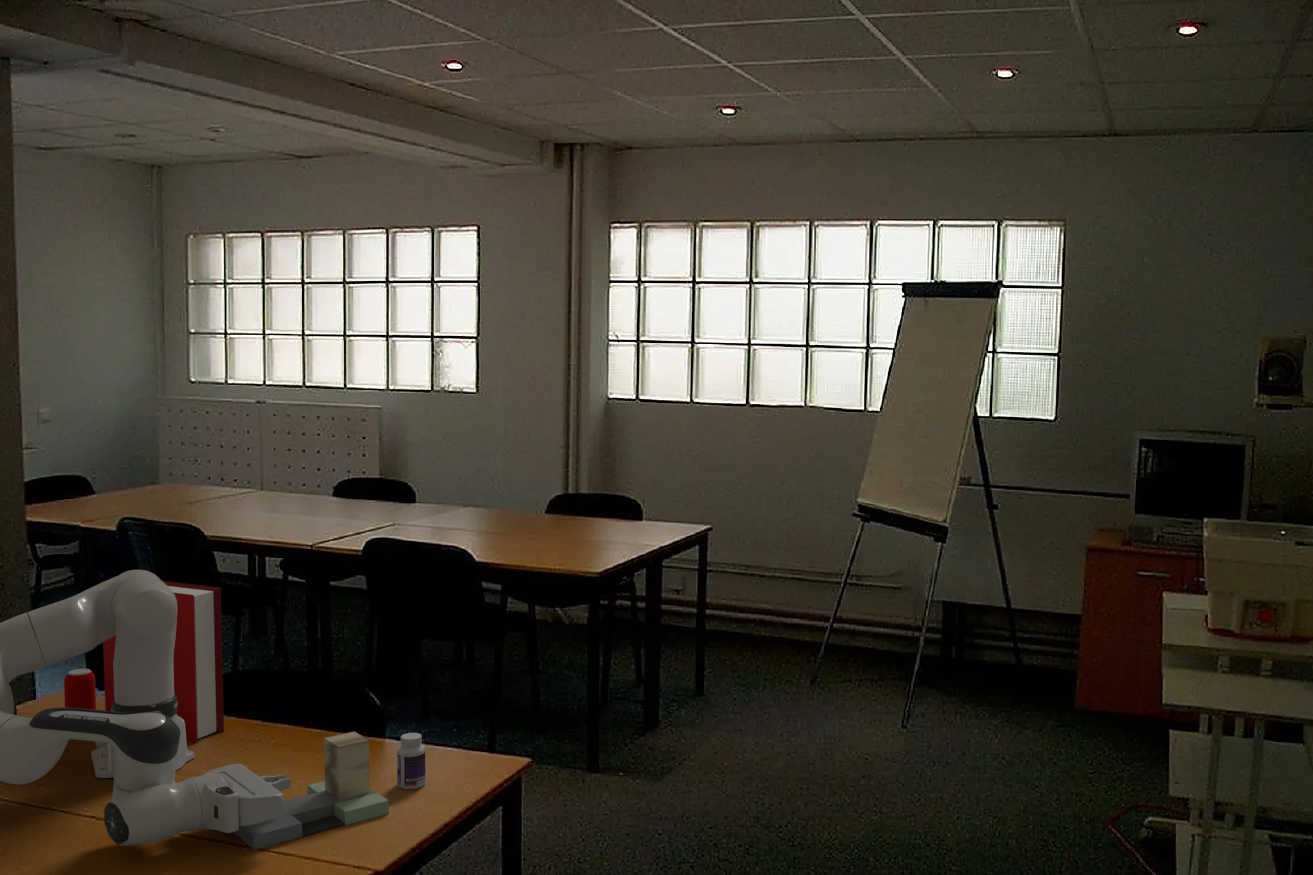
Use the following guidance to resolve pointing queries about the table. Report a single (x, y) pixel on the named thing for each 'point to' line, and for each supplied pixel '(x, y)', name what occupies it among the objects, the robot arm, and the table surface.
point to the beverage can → (80, 689)
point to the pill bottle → (411, 762)
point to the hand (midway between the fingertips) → (287, 780)
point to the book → (190, 660)
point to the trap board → (313, 816)
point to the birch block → (346, 765)
